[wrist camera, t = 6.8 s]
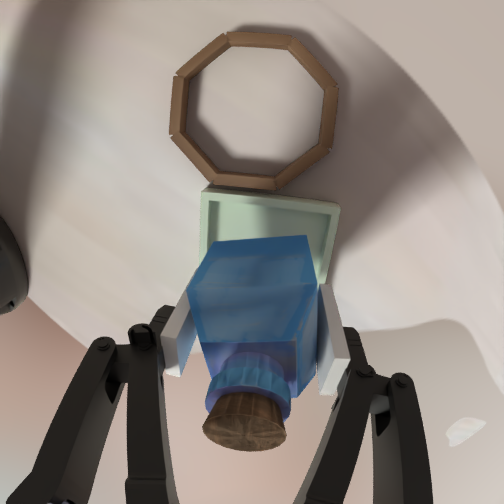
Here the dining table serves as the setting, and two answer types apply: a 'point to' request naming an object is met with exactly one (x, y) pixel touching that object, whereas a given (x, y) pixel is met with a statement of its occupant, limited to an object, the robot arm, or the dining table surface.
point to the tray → (269, 221)
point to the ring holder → (210, 54)
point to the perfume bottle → (255, 335)
